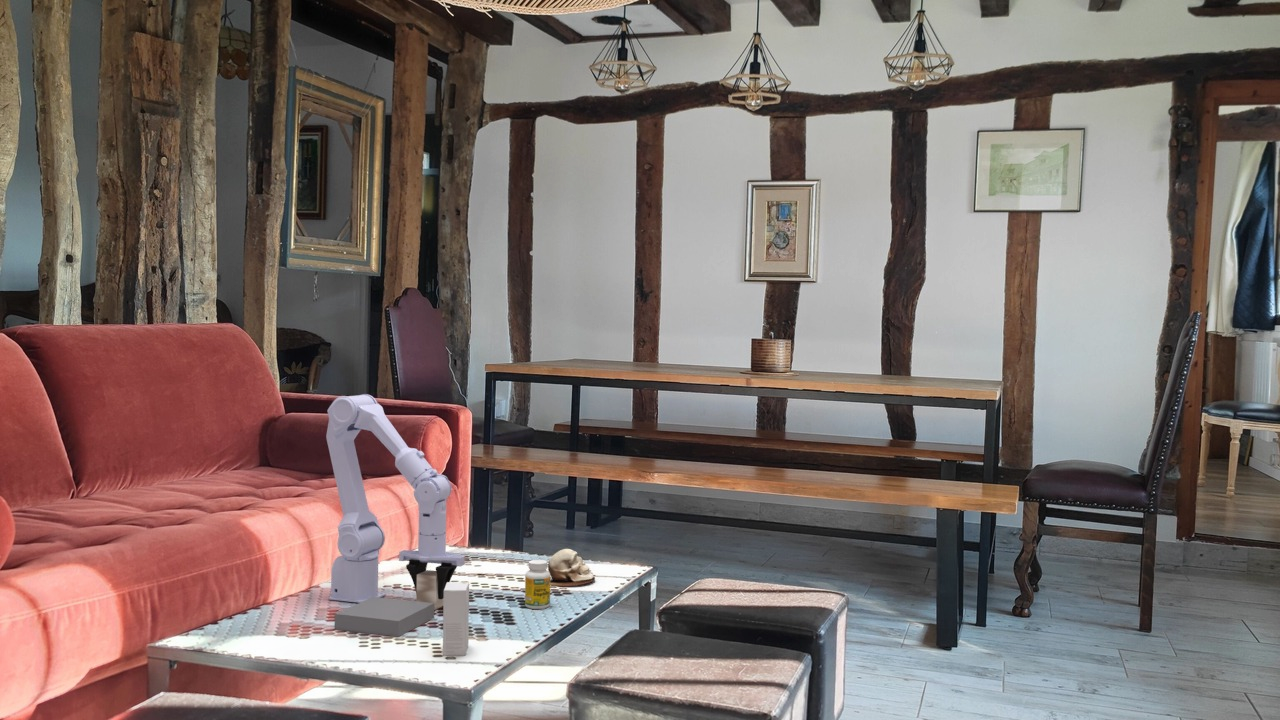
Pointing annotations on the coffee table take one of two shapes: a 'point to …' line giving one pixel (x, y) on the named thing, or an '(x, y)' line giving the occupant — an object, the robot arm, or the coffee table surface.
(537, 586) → the supplement bottle
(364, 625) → the riser block
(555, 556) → the skull
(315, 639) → the coffee table surface
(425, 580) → the cream block
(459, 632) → the skincare box
